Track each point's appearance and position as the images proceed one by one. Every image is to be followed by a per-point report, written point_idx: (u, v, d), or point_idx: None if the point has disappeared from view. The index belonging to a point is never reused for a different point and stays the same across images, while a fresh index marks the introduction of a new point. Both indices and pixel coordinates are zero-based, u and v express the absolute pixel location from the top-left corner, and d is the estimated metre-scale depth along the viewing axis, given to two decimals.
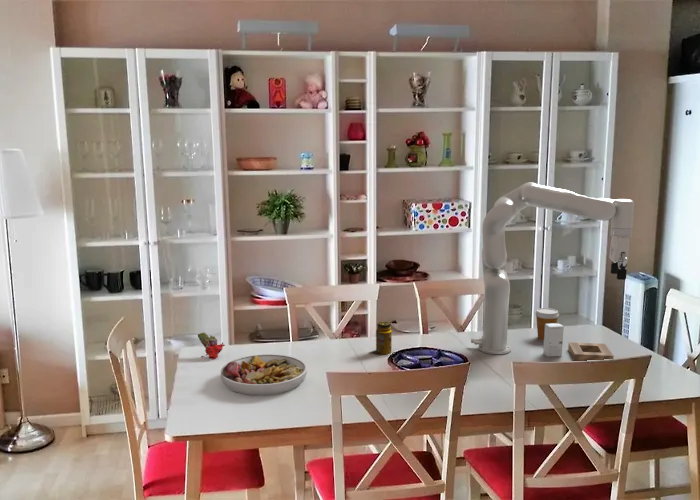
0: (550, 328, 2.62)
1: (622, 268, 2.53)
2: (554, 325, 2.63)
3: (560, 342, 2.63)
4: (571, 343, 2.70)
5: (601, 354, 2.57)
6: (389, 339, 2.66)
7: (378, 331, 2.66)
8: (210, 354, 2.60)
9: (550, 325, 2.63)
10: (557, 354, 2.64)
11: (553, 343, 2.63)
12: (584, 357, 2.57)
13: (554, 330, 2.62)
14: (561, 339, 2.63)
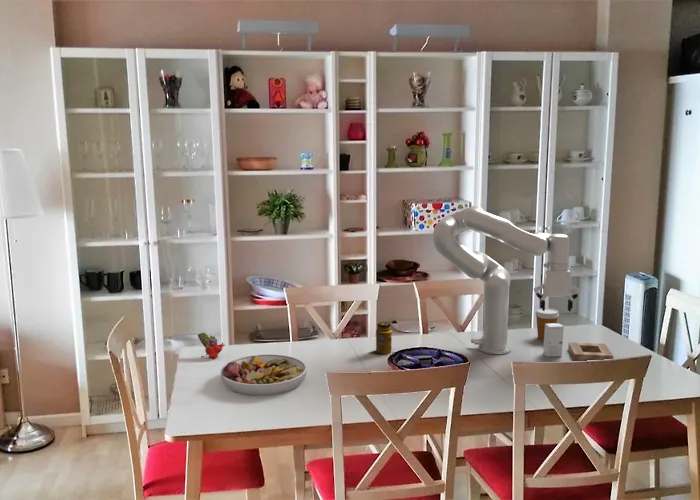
0: (550, 328, 2.62)
1: None
2: (554, 325, 2.63)
3: (560, 342, 2.63)
4: (571, 343, 2.70)
5: (601, 354, 2.57)
6: (389, 339, 2.66)
7: (378, 331, 2.66)
8: (210, 354, 2.60)
9: (550, 325, 2.63)
10: (557, 354, 2.64)
11: (553, 343, 2.63)
12: (584, 357, 2.57)
13: (554, 330, 2.62)
14: (561, 339, 2.63)
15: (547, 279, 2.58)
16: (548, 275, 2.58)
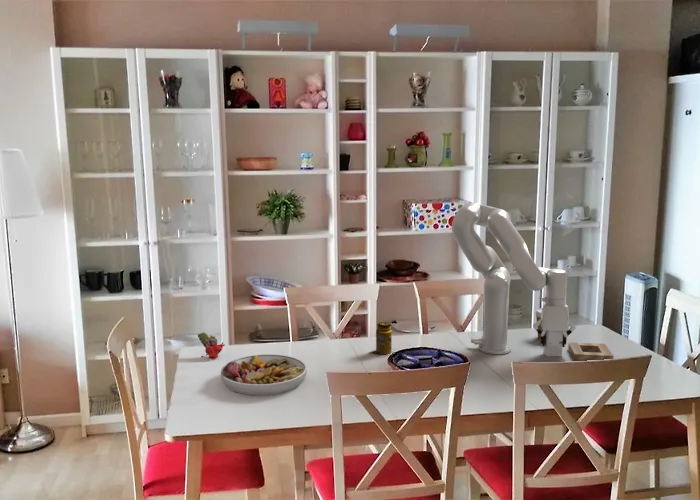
0: None
1: None
2: None
3: (560, 342, 2.63)
4: (571, 343, 2.70)
5: (601, 354, 2.57)
6: (389, 339, 2.66)
7: (378, 331, 2.66)
8: (210, 354, 2.60)
9: None
10: (557, 354, 2.64)
11: (553, 343, 2.63)
12: (584, 357, 2.57)
13: None
14: (561, 339, 2.63)
15: (545, 313, 2.61)
16: (546, 310, 2.60)
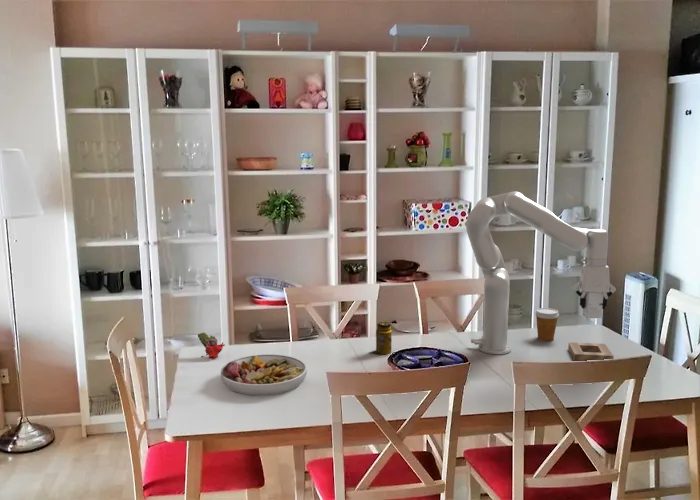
0: None
1: None
2: None
3: (600, 304, 2.58)
4: (571, 343, 2.70)
5: (601, 354, 2.57)
6: (389, 339, 2.66)
7: (378, 331, 2.66)
8: (210, 354, 2.60)
9: None
10: (597, 316, 2.59)
11: (593, 305, 2.58)
12: (584, 357, 2.57)
13: None
14: (601, 301, 2.58)
15: (585, 274, 2.56)
16: (586, 270, 2.55)
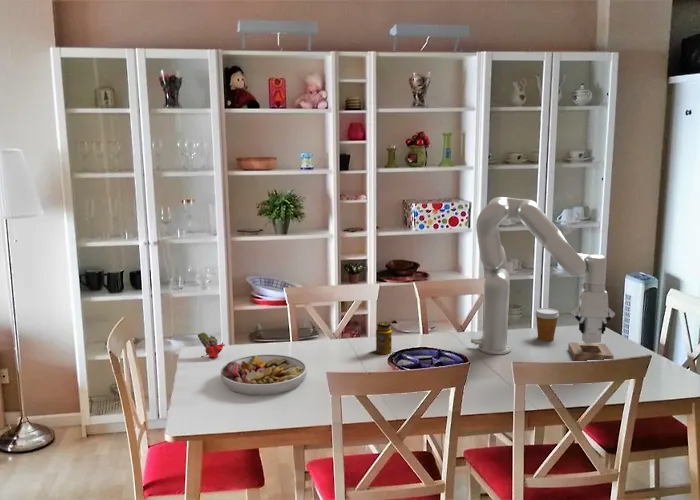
0: None
1: None
2: None
3: (599, 329, 2.60)
4: (571, 343, 2.70)
5: (601, 354, 2.57)
6: (389, 339, 2.66)
7: (378, 331, 2.66)
8: (210, 354, 2.60)
9: None
10: (596, 341, 2.60)
11: (592, 330, 2.59)
12: (584, 357, 2.57)
13: None
14: (600, 326, 2.60)
15: (584, 300, 2.58)
16: (585, 296, 2.57)
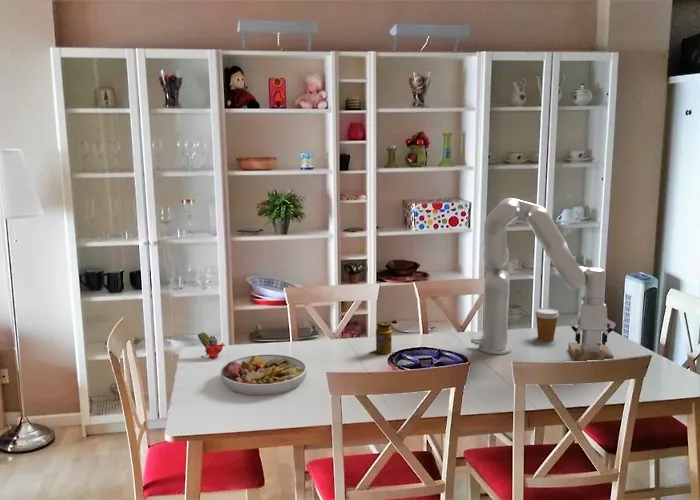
0: None
1: None
2: None
3: (598, 344, 2.61)
4: (571, 343, 2.70)
5: (601, 354, 2.57)
6: (389, 339, 2.66)
7: (378, 331, 2.66)
8: (210, 354, 2.60)
9: None
10: None
11: (591, 345, 2.61)
12: (584, 357, 2.57)
13: (592, 331, 2.60)
14: (599, 341, 2.61)
15: (583, 312, 2.58)
16: (584, 308, 2.58)
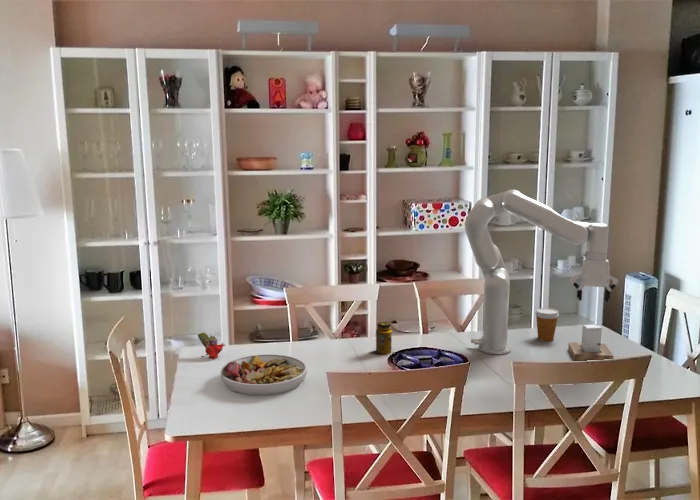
0: (588, 329, 2.60)
1: None
2: (592, 326, 2.61)
3: (598, 344, 2.61)
4: (571, 343, 2.70)
5: (601, 354, 2.57)
6: (389, 339, 2.66)
7: (378, 331, 2.66)
8: (210, 354, 2.60)
9: (588, 326, 2.61)
10: None
11: (591, 345, 2.61)
12: (584, 357, 2.57)
13: (592, 331, 2.60)
14: (599, 341, 2.61)
15: (585, 268, 2.55)
16: (586, 264, 2.55)
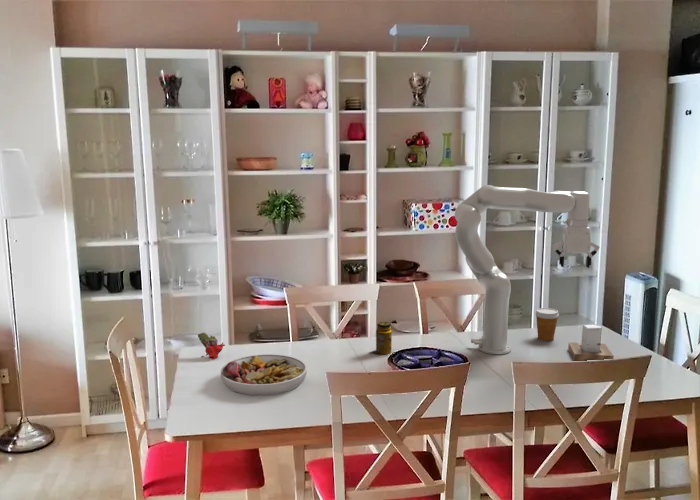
0: (588, 329, 2.60)
1: None
2: (592, 326, 2.61)
3: (598, 344, 2.61)
4: (571, 343, 2.70)
5: (601, 354, 2.57)
6: (389, 339, 2.66)
7: (378, 331, 2.66)
8: (210, 354, 2.60)
9: (588, 326, 2.61)
10: None
11: (591, 345, 2.61)
12: (584, 357, 2.57)
13: (592, 331, 2.60)
14: (599, 341, 2.61)
15: (567, 235, 2.63)
16: (568, 231, 2.63)
